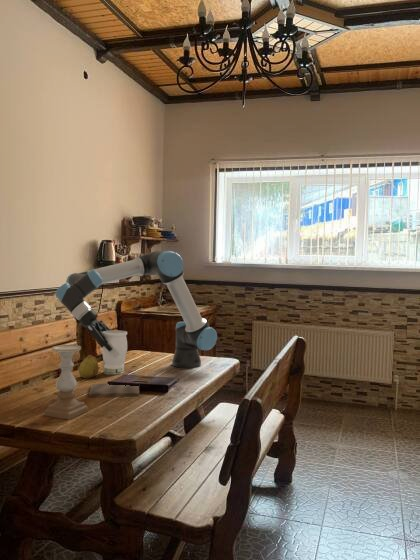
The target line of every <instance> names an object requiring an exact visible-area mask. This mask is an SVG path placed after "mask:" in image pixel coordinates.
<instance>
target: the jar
mask: <svg viewBox="0 0 420 560" xmlns="http://www.w3.org/2000/svg"><path fill="white" fill-rule="evenodd" d="M102 333H103V335H104V336H105V338H106V340H107V341H108V342H110V343H111V344H112V345H113V347H114V348H115V349H116V350H117V351H118V352H119V353H120V354H119V355H118V356H117V357H116V358H114V357H113V356H112V355H111V354H110V353H109V352H108V350H107V349H106V348H105V347H103V348H102V347H101V353H102V359H103V360H104V362H105V365H104V368H106V369H121V368H124V369H125V367H126V366H125V361H126V358H127V353H128V340H127V339H128V338H127V335H128V331H126V330H120V329H119V330H118V329H117V330H116V329H114V330H113V329H111V330H109V331H103V332H102ZM103 360H102V361H103ZM123 363H124V364H123Z"/></svg>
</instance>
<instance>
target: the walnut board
mask: <svg viewBox="0 0 420 560" xmlns="http://www.w3.org/2000/svg"><path fill="white" fill-rule="evenodd" d="M133 396H134V397H135V396H136V397H137V396H138V397H139V396H140V385H139V386H130V385H126V386H125V385H109V384H108V383H91V387H90V389H89V393H88V398H101V397H105V398H106V397H133Z"/></svg>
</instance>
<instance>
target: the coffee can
mask: <svg viewBox="0 0 420 560" xmlns="http://www.w3.org/2000/svg"><path fill="white" fill-rule="evenodd" d="M102 362H103V365H102V366H103V367H102V368H103V369H102V371H103V372H102V373H103V374H104V375H113V376H114V375H121V374H124V373H125V367H124V368H121V369H106V368H104V365H105V362H104V360H102ZM123 364H124V365H125V362H124V363H123Z"/></svg>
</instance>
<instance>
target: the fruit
mask: <svg viewBox="0 0 420 560" xmlns="http://www.w3.org/2000/svg"><path fill="white" fill-rule="evenodd" d="M95 353H96V351H93V353H92V354H88V355H87V356H86V357H85V358H84V359H83V360H82V362H80V365H79V366H78V375H80V377H81V378H83V379H91V378H95V377H96V376H97V375H98V374H99V370H100V369H99V363H98V361H97V359H96V357H95V356H94V354H95Z"/></svg>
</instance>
